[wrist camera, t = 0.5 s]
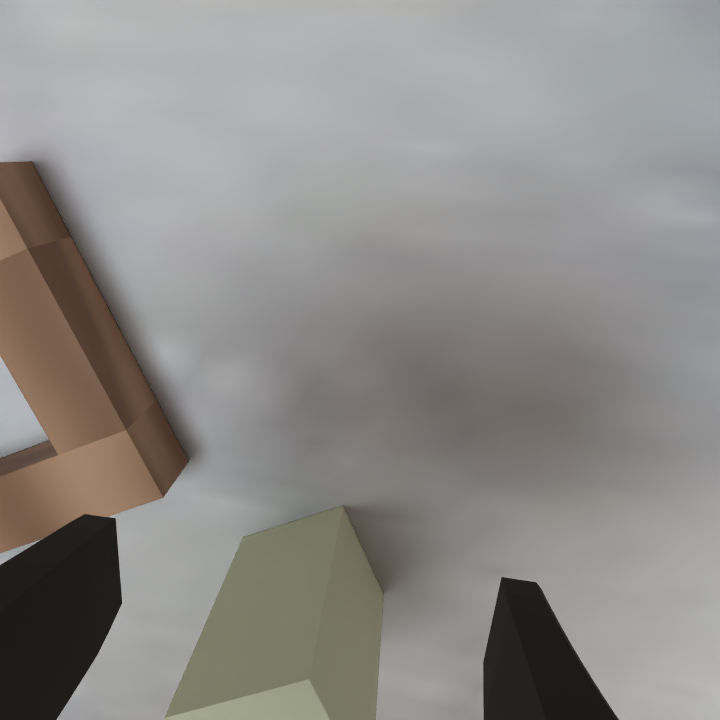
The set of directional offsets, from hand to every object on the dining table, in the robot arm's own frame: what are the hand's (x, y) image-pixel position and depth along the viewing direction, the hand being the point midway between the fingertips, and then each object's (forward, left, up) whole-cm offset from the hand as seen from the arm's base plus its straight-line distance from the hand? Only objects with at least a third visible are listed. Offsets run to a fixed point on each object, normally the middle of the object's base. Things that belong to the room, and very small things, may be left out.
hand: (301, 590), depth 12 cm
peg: (-4, -6, -10) cm, 13 cm away
